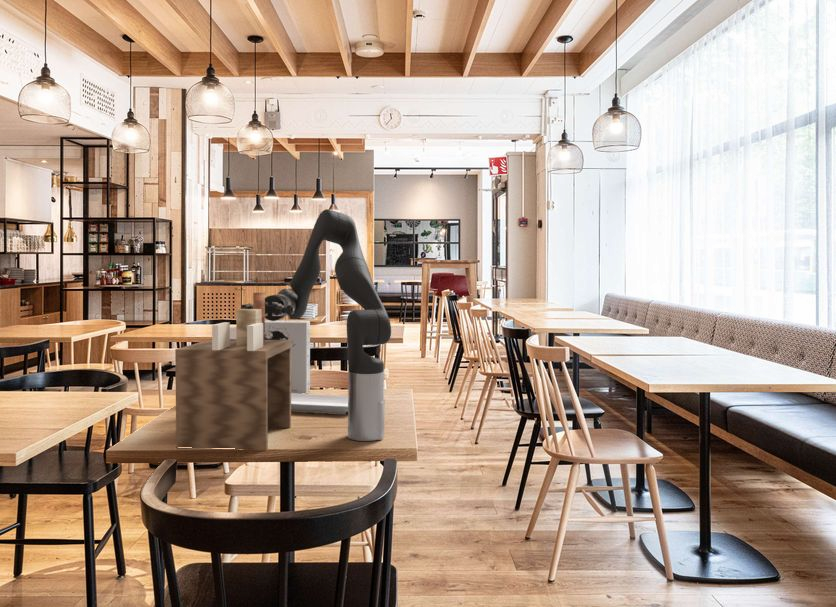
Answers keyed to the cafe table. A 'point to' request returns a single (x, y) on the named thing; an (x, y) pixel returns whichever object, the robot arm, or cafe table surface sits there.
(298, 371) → the cereal box
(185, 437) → the open wooden cabinet
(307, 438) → the cafe table surface
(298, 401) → the tray
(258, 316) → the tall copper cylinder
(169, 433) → the cafe table surface
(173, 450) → the cafe table surface
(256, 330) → the upright cream panels
